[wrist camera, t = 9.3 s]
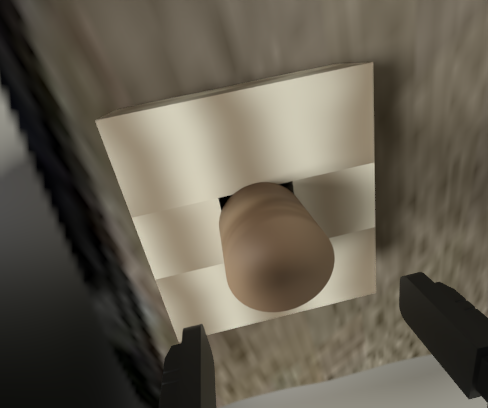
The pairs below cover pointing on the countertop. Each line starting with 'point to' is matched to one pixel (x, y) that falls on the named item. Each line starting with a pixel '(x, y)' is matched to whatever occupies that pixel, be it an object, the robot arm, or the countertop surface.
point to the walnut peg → (273, 249)
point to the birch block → (248, 180)
